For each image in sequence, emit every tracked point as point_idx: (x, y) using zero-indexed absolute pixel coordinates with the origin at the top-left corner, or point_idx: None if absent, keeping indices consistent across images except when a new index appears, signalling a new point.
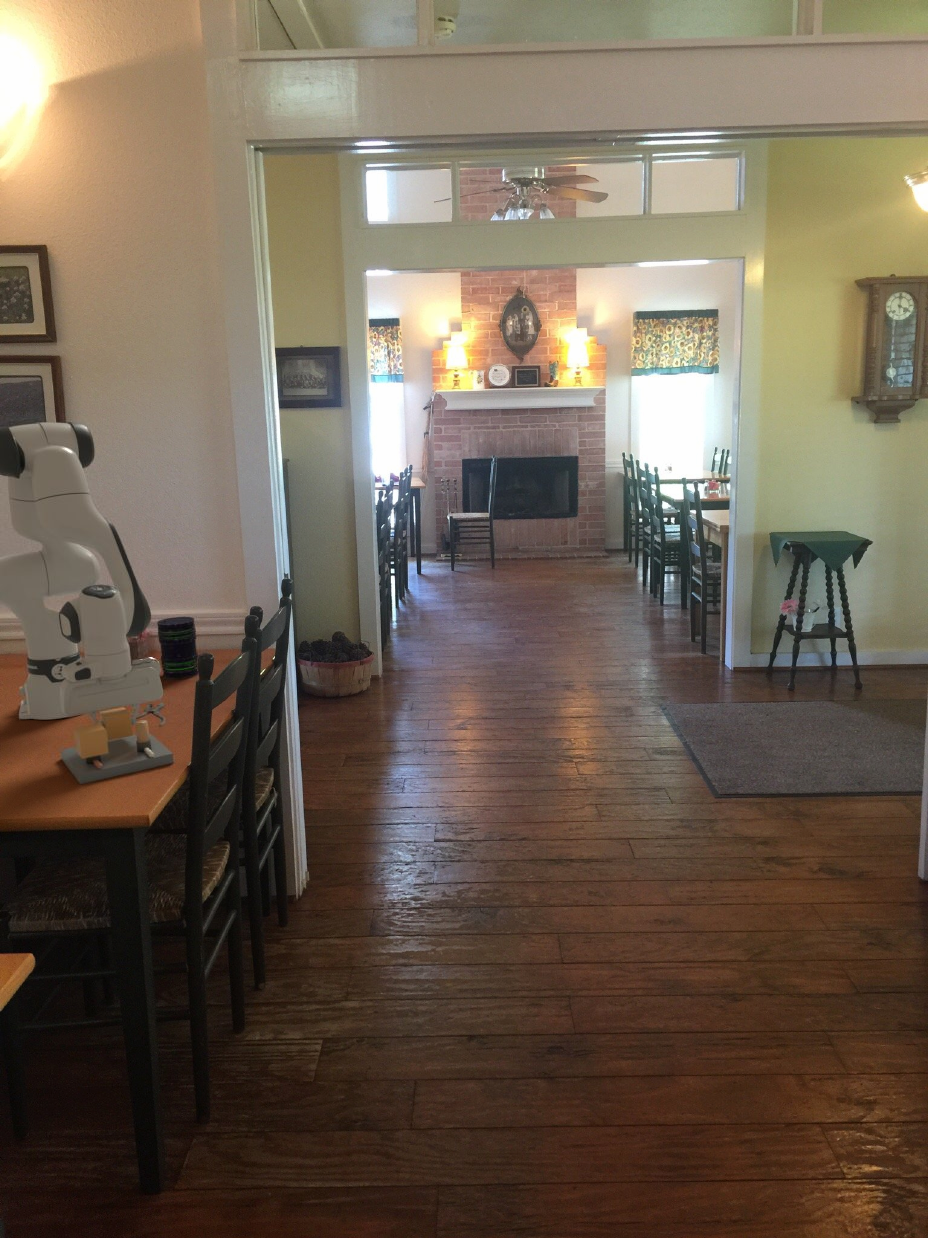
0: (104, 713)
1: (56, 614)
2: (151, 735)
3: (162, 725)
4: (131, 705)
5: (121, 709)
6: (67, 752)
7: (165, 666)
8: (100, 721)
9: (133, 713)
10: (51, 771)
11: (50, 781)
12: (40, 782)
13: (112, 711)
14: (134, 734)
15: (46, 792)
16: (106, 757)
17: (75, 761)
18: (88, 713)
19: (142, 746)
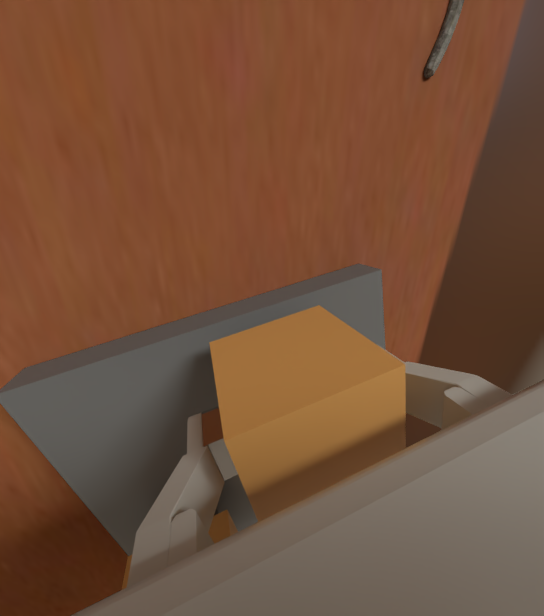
0: (266, 480)
1: None
2: (381, 323)
3: (436, 66)
4: (456, 421)
5: (381, 413)
6: (56, 436)
7: None
8: (222, 441)
9: (413, 407)
10: (29, 483)
11: (62, 552)
12: (25, 559)
13: (322, 448)
14: (333, 286)
15: (79, 607)
16: (233, 496)
17: (128, 524)
18: (137, 565)
19: None
